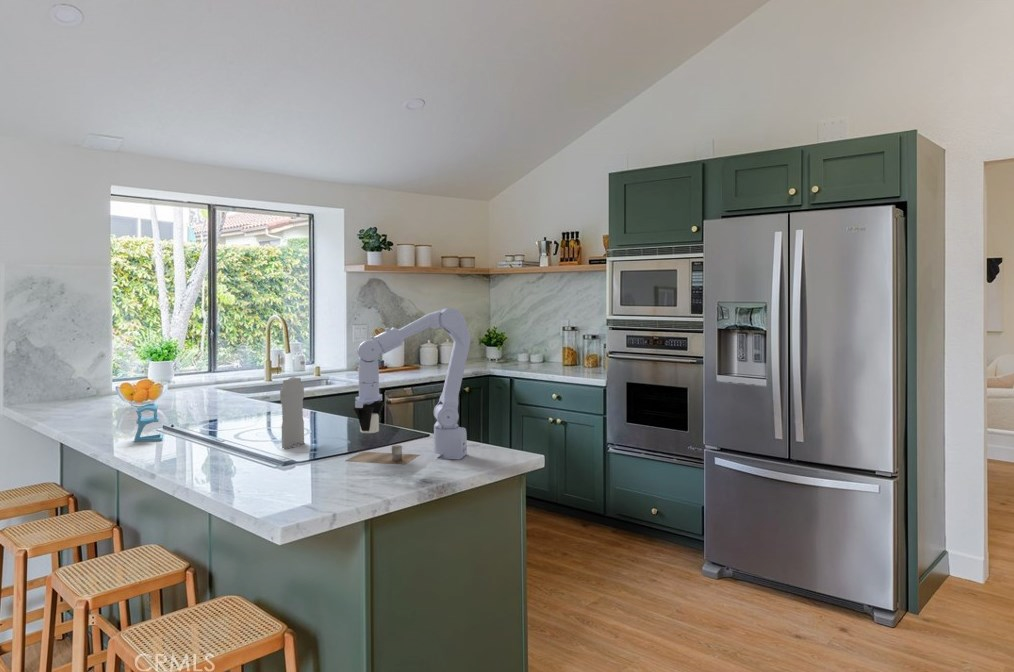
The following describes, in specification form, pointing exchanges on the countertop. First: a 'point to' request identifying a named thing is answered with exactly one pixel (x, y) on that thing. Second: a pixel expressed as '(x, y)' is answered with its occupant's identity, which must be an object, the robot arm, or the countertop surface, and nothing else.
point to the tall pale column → (292, 412)
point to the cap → (373, 424)
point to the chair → (145, 421)
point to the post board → (384, 457)
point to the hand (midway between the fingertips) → (369, 428)
